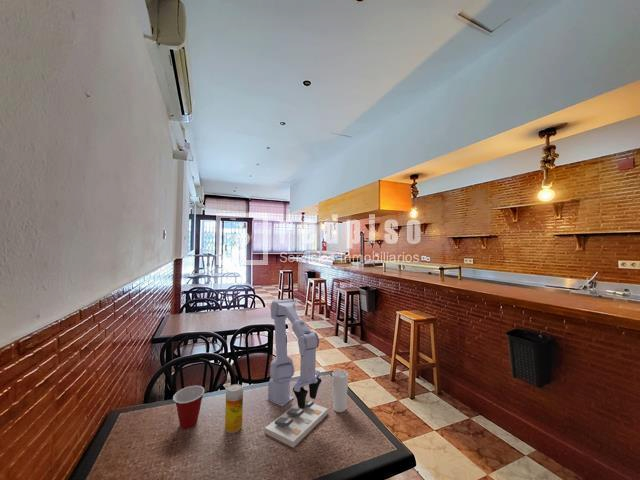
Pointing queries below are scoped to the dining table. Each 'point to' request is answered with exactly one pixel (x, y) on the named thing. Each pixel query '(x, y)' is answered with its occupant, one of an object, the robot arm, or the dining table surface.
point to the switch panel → (297, 425)
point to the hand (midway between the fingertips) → (307, 402)
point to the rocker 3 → (309, 403)
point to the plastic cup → (188, 405)
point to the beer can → (234, 408)
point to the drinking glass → (339, 390)
